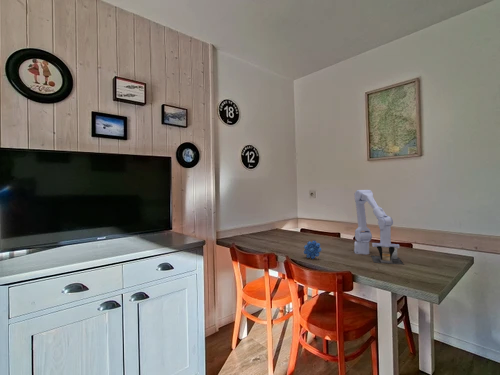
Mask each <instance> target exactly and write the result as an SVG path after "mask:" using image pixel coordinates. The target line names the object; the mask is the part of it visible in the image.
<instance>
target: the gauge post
mask: <svg viewBox="0 0 500 375" xmlns="http://www.w3.org/2000/svg"><path fill="white" fill-rule="evenodd" d="M391 259H393V260H394V259H395V260H396V259H397V260H398V248H395V250H394V252H393V254H392V257H391Z"/></svg>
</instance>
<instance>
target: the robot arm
mask: <svg viewBox="0 0 500 375" xmlns="http://www.w3.org/2000/svg"><path fill="white" fill-rule="evenodd" d="M354 201H355V208H356V216H357V228H356V229H355V230H354V238H355V241H354V246H353V247H354V249H353V252H354V254H356V255H369V254H370V242H371V240H372V239H373V235H372V232H371V229H370V228H369V227H368V226H367V216H366V208H365V207H366V206H365V204H366V202H367V203H368V204H369V206H370V207H371V208H372V209H373V210H372V213H373V215H374V216H375V217H376V219H377V225H378V228H379V231H380V232H379V240H380V242H372V243H371V245H372V247H373V248H377V251H378V253H379V257H380V258H381V259H382V252H383V248H388V252H389V253H390V260H391V259H392V258H391V257H392V254H393V252H394V250H395V248H397V249H400V244H398V243H397V244H395V243H392V242H391V240H392V236H391V235H392V234H391V231H392V229H391V228H392V226H393V224H394V221H393V218H392V217H391V216H389V215H387V213H386V212H385V210H384V208H382V207H381V206H379V205H378V203H377V202H376V200H375V198H374V192H373V191H372V190H371V189H357V190H356V191H355V192H354ZM380 258H379V259H380Z"/></svg>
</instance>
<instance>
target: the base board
mask: <svg viewBox="0 0 500 375" xmlns="http://www.w3.org/2000/svg"><path fill="white" fill-rule="evenodd" d="M370 256H371V258H372V260H373V261H374V263H376V264H377V263H379V264H386V263H387V265H389V264H392V265H400V264H401V265H404V262H402V261H401V259H400V258H397V259H392V258H391V260H390V261H385V260H382V259H381V258H380V255H378V256H375V255H370Z"/></svg>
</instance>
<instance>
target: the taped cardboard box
mask: <svg viewBox="0 0 500 375" xmlns="http://www.w3.org/2000/svg"><path fill="white" fill-rule="evenodd" d="M382 260H385V261H390V253H389V251H382Z"/></svg>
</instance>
